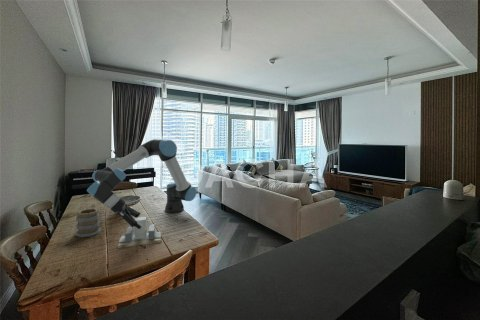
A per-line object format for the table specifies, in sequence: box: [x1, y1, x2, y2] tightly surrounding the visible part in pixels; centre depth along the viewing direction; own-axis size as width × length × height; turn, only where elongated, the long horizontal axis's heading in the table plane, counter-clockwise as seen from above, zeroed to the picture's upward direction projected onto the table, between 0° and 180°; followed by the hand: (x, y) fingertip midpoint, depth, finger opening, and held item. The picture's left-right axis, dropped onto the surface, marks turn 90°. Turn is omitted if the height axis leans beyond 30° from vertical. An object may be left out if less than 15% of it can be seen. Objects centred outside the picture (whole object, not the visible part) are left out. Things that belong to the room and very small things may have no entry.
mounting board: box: [117, 231, 162, 249], centre depth 129 cm, size 22×12×2 cm, turn 109°
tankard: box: [75, 203, 103, 238], centre depth 141 cm, size 20×13×15 cm, turn 17°
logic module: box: [133, 216, 148, 239], centre depth 129 cm, size 6×5×11 cm
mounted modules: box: [124, 223, 156, 243], centre depth 129 cm, size 15×10×5 cm, turn 109°
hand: (145, 226), depth 129 cm, fingers open, 11 cm apart
